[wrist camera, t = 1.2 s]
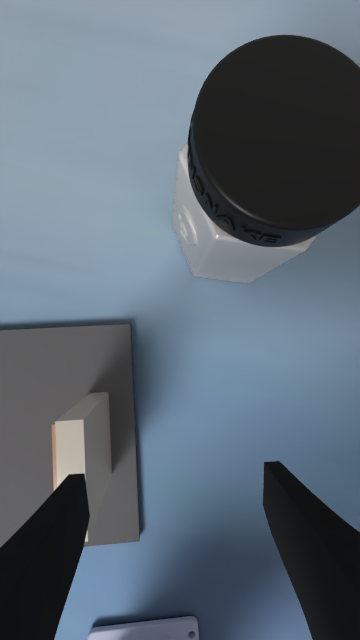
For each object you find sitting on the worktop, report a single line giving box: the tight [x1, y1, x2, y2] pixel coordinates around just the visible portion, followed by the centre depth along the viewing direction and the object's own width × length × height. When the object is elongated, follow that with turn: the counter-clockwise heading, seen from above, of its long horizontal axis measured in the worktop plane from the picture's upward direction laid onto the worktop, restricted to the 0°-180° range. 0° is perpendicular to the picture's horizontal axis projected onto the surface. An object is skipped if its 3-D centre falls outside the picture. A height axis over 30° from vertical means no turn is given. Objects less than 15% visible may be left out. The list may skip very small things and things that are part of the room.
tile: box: [52, 392, 112, 542], centre depth 18 cm, size 6×2×7 cm, turn 3°
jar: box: [172, 35, 360, 283], centre depth 17 cm, size 9×8×12 cm
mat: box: [0, 324, 140, 547], centre depth 21 cm, size 16×16×1 cm
